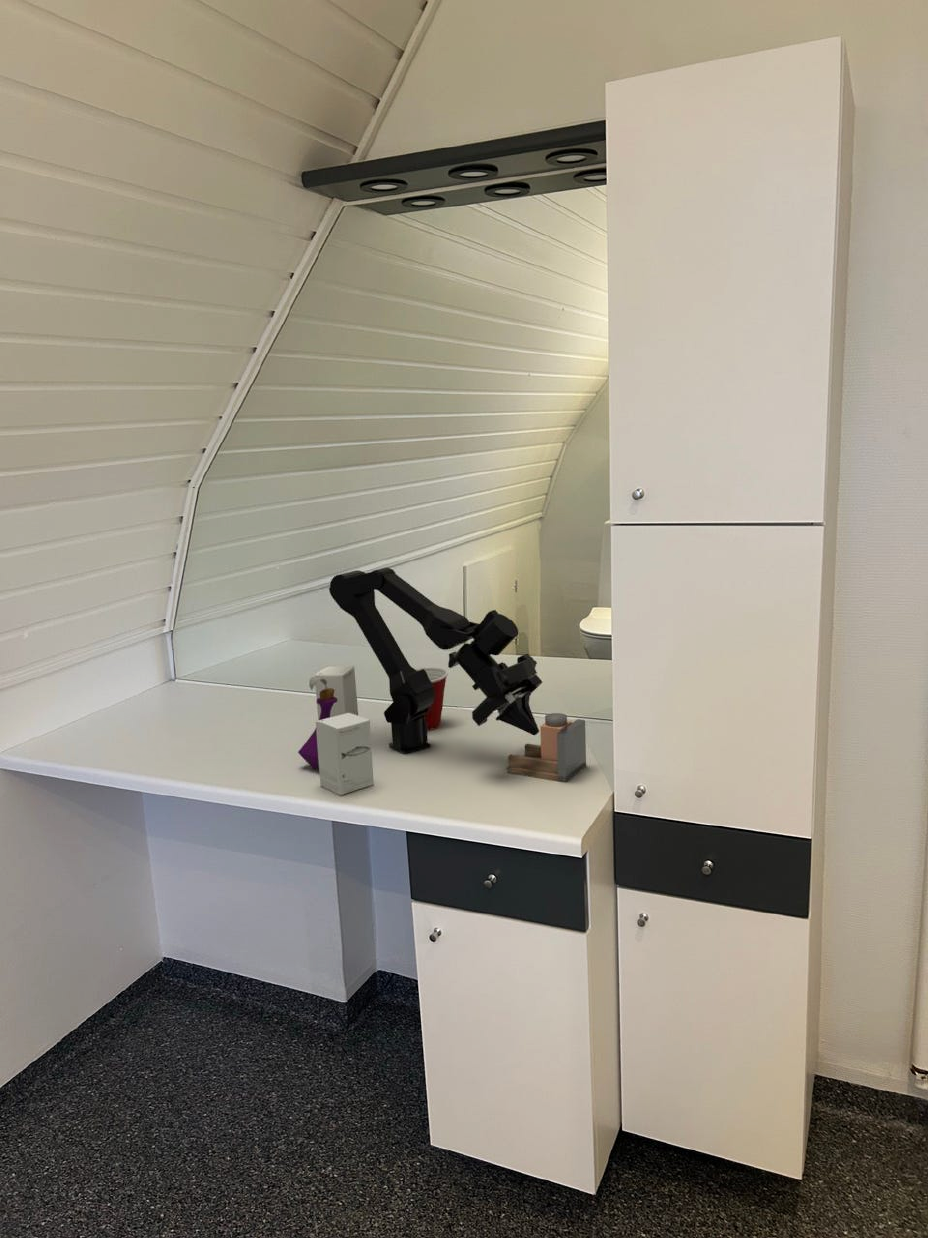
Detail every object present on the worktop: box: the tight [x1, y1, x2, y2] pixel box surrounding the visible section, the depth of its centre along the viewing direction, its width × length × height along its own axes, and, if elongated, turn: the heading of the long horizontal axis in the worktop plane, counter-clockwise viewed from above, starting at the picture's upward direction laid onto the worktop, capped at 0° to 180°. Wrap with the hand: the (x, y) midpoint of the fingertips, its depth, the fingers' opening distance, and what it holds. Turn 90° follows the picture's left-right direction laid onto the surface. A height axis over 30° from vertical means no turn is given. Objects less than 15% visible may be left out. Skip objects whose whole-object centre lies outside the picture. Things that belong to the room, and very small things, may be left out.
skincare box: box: [313, 665, 359, 721], centre depth 195 cm, size 8×7×16 cm
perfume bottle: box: [297, 676, 338, 770], centre depth 181 cm, size 8×8×18 cm
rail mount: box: [506, 718, 587, 783], centre depth 174 cm, size 12×9×9 cm
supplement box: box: [315, 713, 375, 796], centre depth 171 cm, size 7×7×13 cm
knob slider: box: [539, 712, 573, 762], centre depth 173 cm, size 4×5×9 cm
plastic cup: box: [414, 666, 449, 731], centre depth 203 cm, size 11×11×12 cm
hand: (537, 733), depth 175 cm, fingers closed
